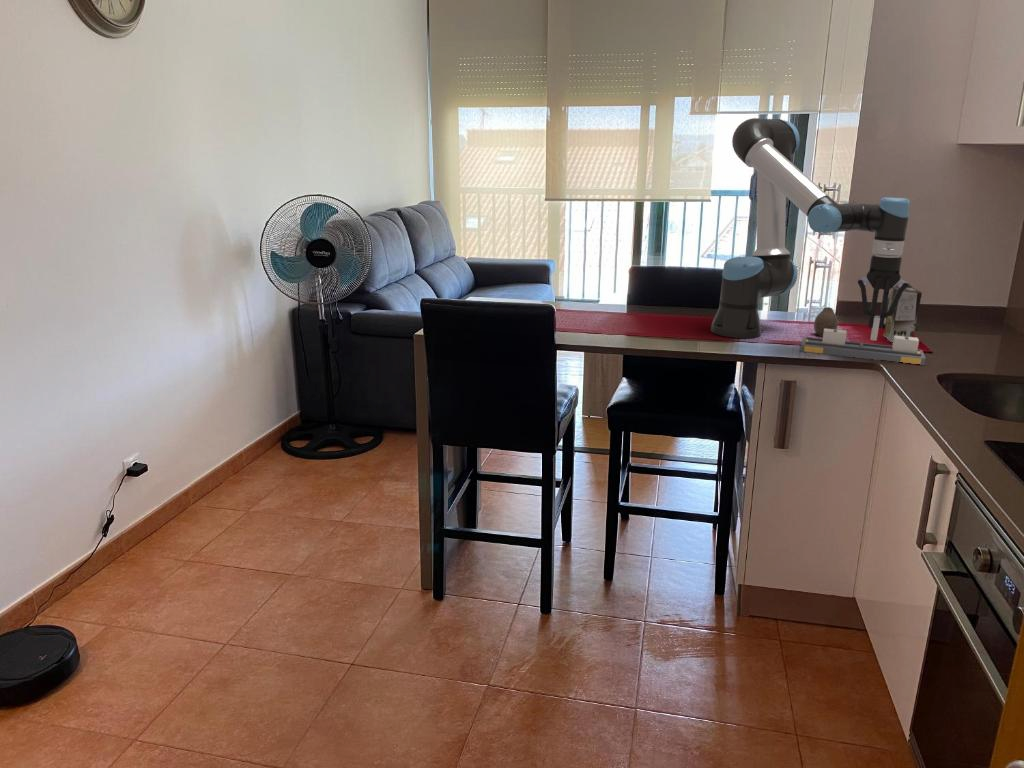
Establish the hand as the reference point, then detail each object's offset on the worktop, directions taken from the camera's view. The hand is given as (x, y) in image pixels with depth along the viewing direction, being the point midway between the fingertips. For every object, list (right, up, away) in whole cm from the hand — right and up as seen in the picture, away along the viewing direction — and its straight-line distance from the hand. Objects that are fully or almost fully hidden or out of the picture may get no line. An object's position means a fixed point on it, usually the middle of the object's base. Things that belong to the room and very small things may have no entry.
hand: (873, 339), depth 213 cm
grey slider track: (-3, -4, +3) cm, 5 cm away
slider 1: (-9, -1, +5) cm, 11 cm away
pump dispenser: (+25, +6, +36) cm, 44 cm away
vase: (-4, +2, +24) cm, 24 cm away
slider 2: (+8, -4, -2) cm, 9 cm away
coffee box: (+16, 0, +19) cm, 25 cm away
